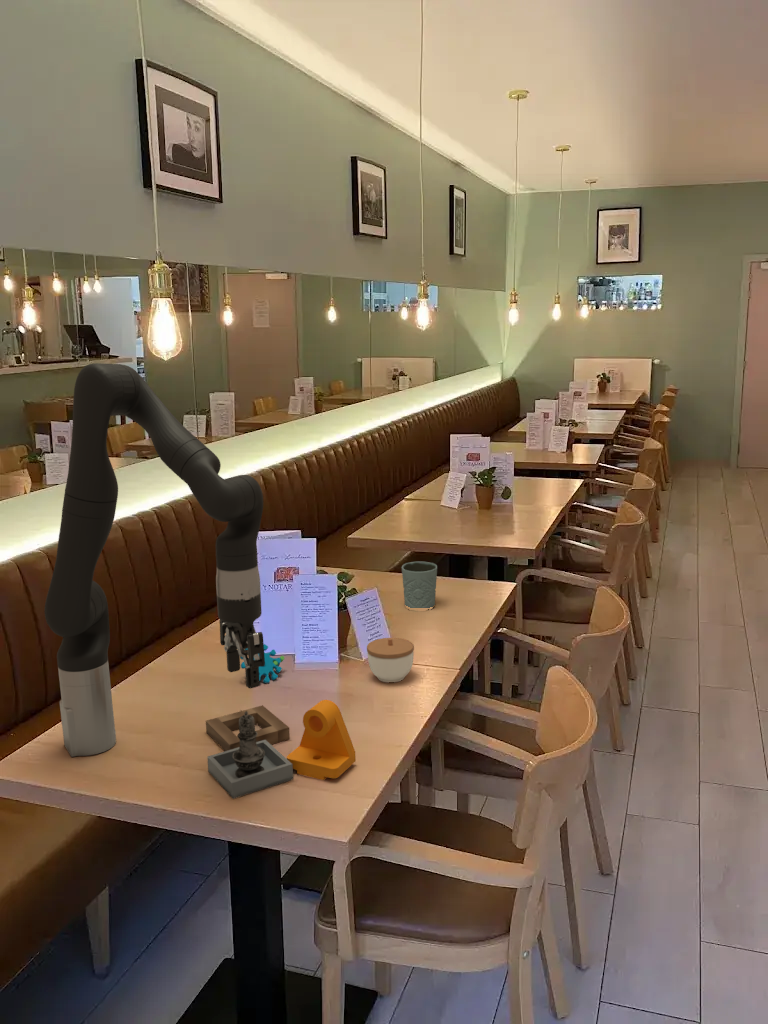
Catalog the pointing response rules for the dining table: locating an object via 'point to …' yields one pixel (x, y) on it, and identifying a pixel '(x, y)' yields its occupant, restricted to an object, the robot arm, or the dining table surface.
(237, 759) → the dark grey chess piece
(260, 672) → the teal virus toy
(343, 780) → the dining table surface
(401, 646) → the lidded jar
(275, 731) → the frame
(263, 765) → the grey tray
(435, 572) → the green embossed pot
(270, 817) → the dining table surface
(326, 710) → the bracket
